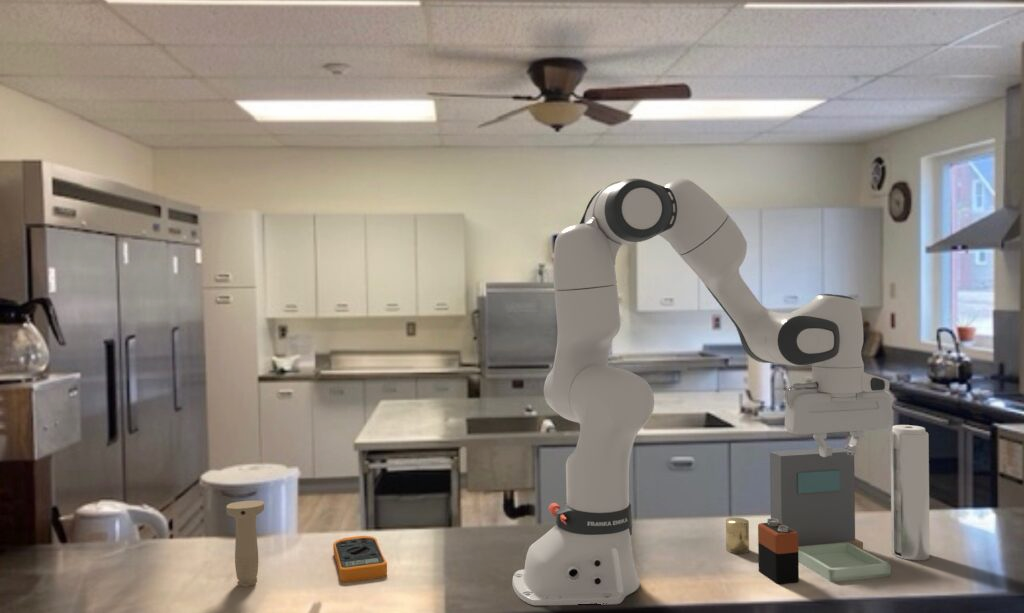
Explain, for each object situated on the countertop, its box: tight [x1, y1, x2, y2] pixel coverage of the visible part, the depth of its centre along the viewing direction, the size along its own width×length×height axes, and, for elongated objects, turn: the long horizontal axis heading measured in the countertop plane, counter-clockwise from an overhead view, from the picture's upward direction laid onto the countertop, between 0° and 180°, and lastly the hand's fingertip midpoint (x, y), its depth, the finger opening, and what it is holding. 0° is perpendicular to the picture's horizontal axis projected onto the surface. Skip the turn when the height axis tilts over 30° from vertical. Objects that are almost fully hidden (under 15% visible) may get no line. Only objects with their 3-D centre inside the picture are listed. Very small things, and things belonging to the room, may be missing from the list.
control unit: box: [769, 446, 864, 550], centre depth 146 cm, size 18×6×20 cm, turn 101°
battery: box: [757, 517, 800, 585], centre depth 132 cm, size 4×7×10 cm, turn 11°
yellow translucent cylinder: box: [725, 517, 750, 555], centre depth 146 cm, size 4×4×6 cm
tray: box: [798, 542, 892, 583], centre depth 137 cm, size 12×12×2 cm
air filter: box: [889, 424, 931, 562], centre depth 142 cm, size 6×6×25 cm
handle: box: [225, 500, 265, 588], centre depth 133 cm, size 5×6×15 cm
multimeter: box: [332, 535, 388, 583], centre depth 142 cm, size 9×18×3 cm, turn 18°
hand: (838, 455), depth 136 cm, fingers open, 4 cm apart
